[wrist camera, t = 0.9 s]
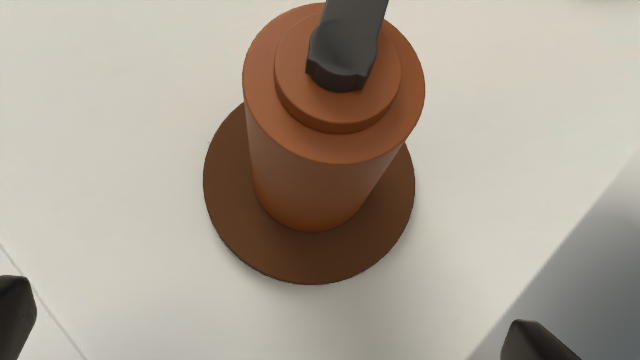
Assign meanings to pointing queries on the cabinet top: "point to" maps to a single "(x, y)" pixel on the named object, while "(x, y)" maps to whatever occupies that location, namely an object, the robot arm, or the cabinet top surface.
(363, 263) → the coaster
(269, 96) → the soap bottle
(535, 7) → the cabinet top surface
